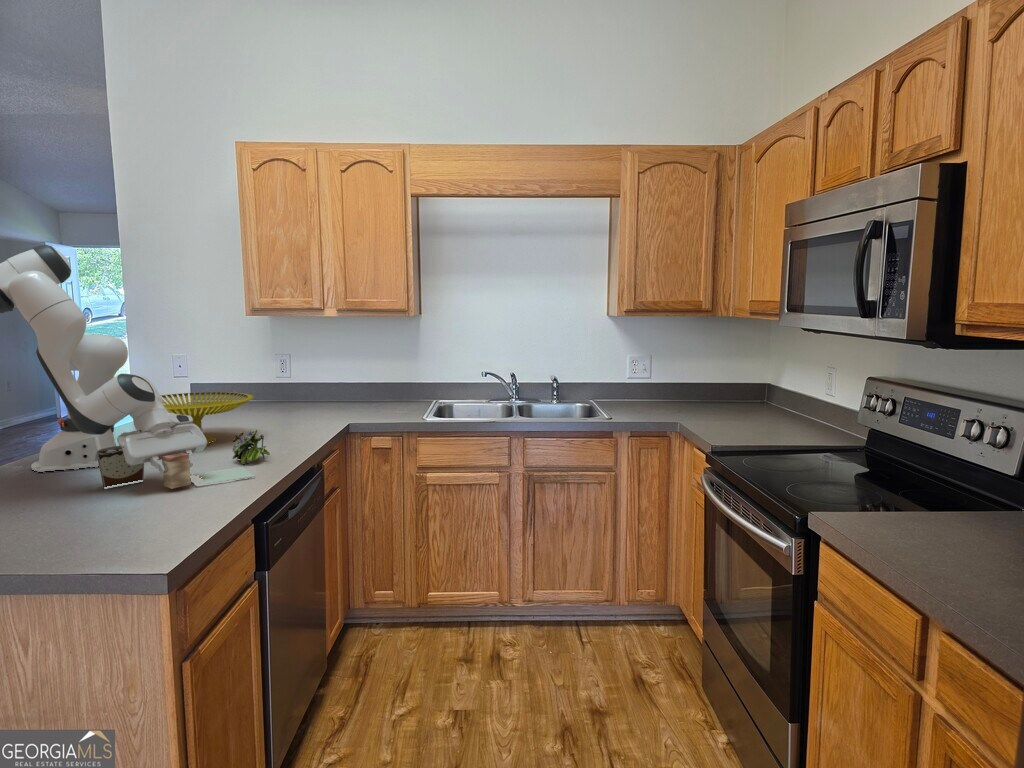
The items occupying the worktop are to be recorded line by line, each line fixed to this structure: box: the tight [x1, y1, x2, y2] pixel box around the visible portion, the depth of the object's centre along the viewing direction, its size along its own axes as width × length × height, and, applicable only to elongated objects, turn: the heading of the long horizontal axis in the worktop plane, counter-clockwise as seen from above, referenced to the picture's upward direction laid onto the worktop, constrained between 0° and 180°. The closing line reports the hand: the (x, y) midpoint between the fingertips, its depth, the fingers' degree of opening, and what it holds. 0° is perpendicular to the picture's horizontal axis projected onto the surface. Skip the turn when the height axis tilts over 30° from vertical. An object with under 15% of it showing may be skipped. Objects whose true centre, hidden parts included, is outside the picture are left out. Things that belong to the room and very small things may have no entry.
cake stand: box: [159, 391, 255, 444], centre depth 225 cm, size 40×40×15 cm
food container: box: [95, 445, 145, 488], centre depth 173 cm, size 12×6×10 cm, turn 141°
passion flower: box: [231, 429, 271, 465], centre depth 199 cm, size 11×11×12 cm
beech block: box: [161, 453, 192, 490], centre depth 169 cm, size 5×4×8 cm
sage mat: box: [190, 466, 256, 484], centre depth 180 cm, size 15×13×1 cm
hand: (177, 469), depth 168 cm, fingers closed on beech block, 5 cm apart
